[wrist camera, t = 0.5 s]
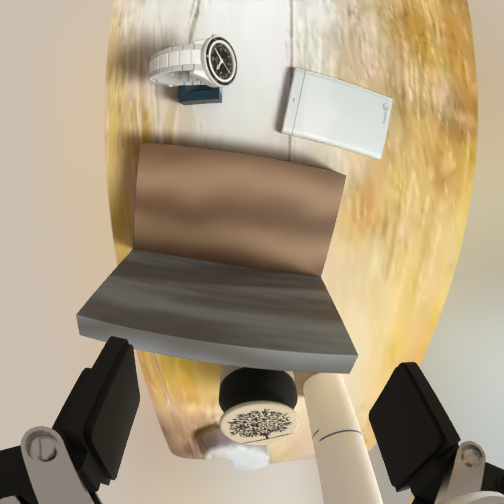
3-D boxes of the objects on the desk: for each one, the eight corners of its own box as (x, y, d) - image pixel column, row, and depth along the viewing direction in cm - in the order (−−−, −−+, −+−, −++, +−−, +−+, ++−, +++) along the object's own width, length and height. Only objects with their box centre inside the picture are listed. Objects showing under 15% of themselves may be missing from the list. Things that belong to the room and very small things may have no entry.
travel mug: (220, 302, 40) (206, 407, 23) (278, 292, 39) (297, 395, 23) (233, 347, 43) (228, 449, 26) (286, 338, 42) (304, 440, 26)
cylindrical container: (350, 381, 46) (392, 504, 23) (319, 403, 48) (346, 523, 25) (326, 364, 45) (366, 502, 21) (294, 388, 46) (315, 522, 23)
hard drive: (393, 98, 29) (295, 66, 28) (381, 160, 32) (281, 133, 31) (387, 99, 31) (293, 69, 30) (375, 159, 34) (279, 133, 32)
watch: (239, 101, 31) (235, 84, 20) (169, 106, 30) (136, 94, 20) (238, 57, 28) (235, 23, 18) (169, 63, 28) (138, 35, 18)
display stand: (151, 142, 32) (68, 152, 15) (335, 171, 34) (412, 205, 17) (143, 252, 37) (79, 335, 20) (310, 277, 39) (349, 373, 22)
